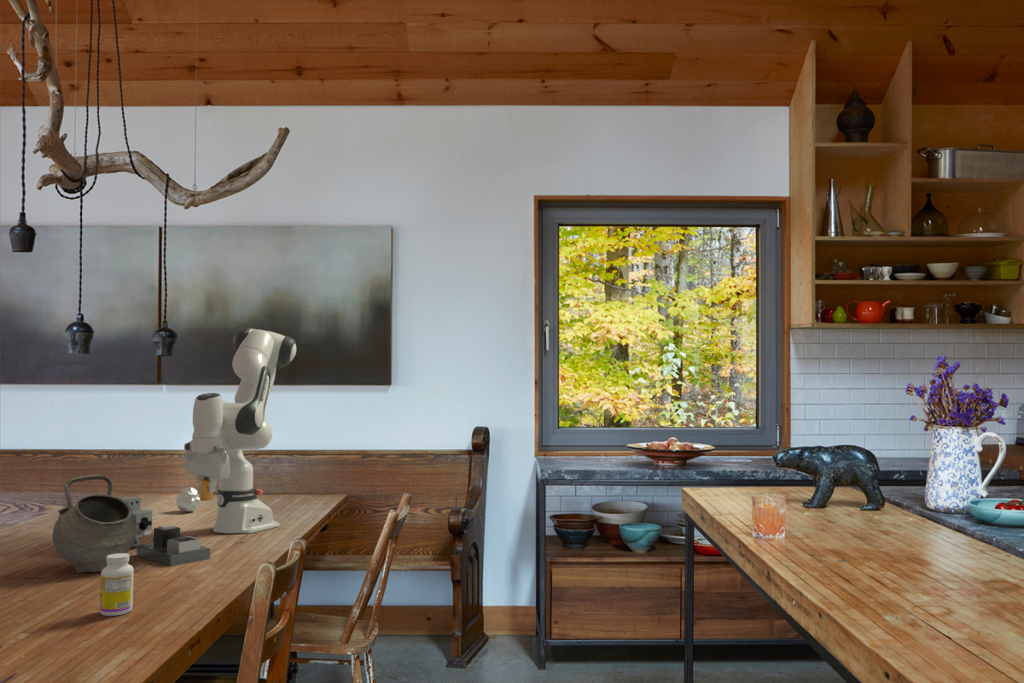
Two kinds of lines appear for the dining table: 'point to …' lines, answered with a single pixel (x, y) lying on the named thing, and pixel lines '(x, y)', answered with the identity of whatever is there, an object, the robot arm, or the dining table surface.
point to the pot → (93, 528)
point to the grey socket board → (173, 548)
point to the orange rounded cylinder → (205, 490)
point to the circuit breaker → (139, 518)
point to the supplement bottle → (116, 586)
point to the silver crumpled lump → (188, 500)
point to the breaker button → (166, 527)
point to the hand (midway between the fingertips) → (206, 490)
